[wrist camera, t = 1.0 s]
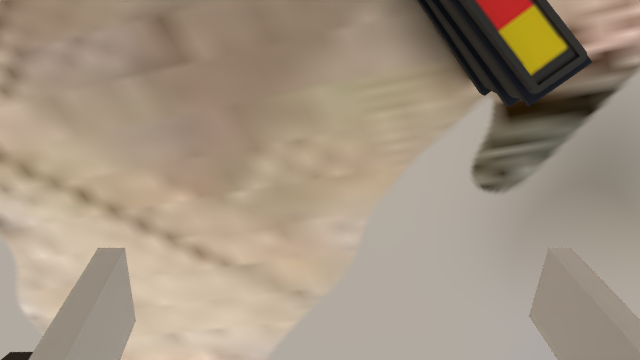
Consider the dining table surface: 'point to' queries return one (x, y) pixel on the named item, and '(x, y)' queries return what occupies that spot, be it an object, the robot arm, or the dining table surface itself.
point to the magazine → (509, 45)
